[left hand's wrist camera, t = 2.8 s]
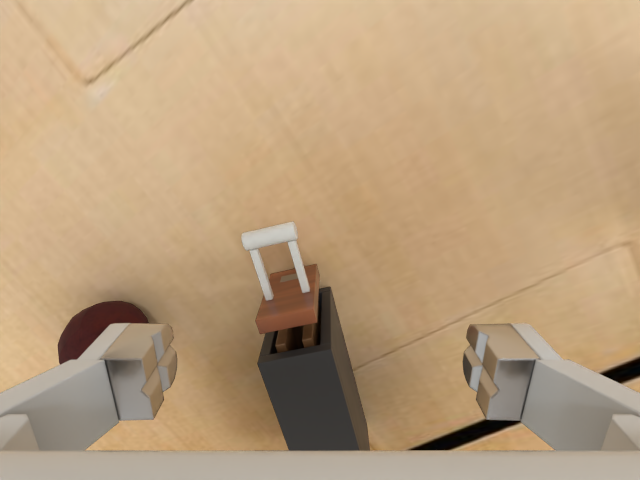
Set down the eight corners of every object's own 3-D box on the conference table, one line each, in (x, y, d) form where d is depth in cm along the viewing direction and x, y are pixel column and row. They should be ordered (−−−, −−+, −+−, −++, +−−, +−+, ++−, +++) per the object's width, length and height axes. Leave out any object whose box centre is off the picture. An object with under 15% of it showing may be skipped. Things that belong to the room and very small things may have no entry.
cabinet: (274, 297, 37) (257, 363, 28) (330, 286, 36) (331, 349, 27) (318, 433, 43) (315, 524, 34) (367, 425, 42) (377, 515, 33)
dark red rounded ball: (79, 333, 39) (28, 381, 32) (104, 273, 36) (54, 313, 30) (147, 363, 40) (111, 416, 33) (176, 308, 37) (143, 353, 31)
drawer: (251, 215, 33) (229, 248, 26) (300, 203, 33) (292, 234, 25) (314, 410, 41) (311, 480, 33) (354, 403, 40) (360, 473, 33)
